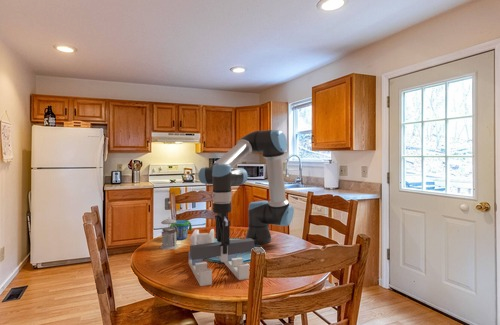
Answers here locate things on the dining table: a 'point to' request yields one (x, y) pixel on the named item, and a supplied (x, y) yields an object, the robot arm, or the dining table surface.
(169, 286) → the dining table surface
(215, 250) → the dark gray bar
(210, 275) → the white notched holder
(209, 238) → the cable organizer
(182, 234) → the snack cup
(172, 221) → the french press
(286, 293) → the dining table surface
